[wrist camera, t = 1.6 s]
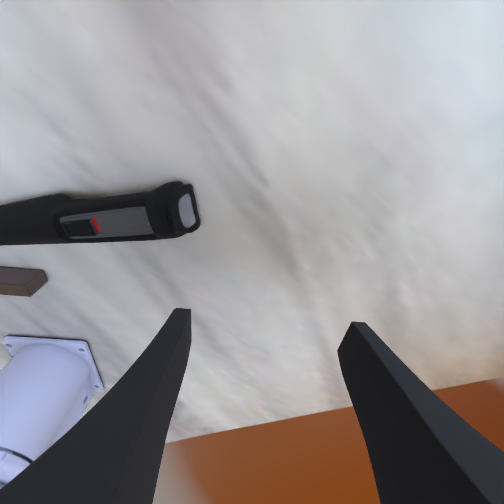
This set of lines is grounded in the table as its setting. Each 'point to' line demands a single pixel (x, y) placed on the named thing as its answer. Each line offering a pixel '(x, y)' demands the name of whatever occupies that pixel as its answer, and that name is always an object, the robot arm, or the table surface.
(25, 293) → the dock
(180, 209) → the electric trimmer
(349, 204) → the table surface
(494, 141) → the table surface
